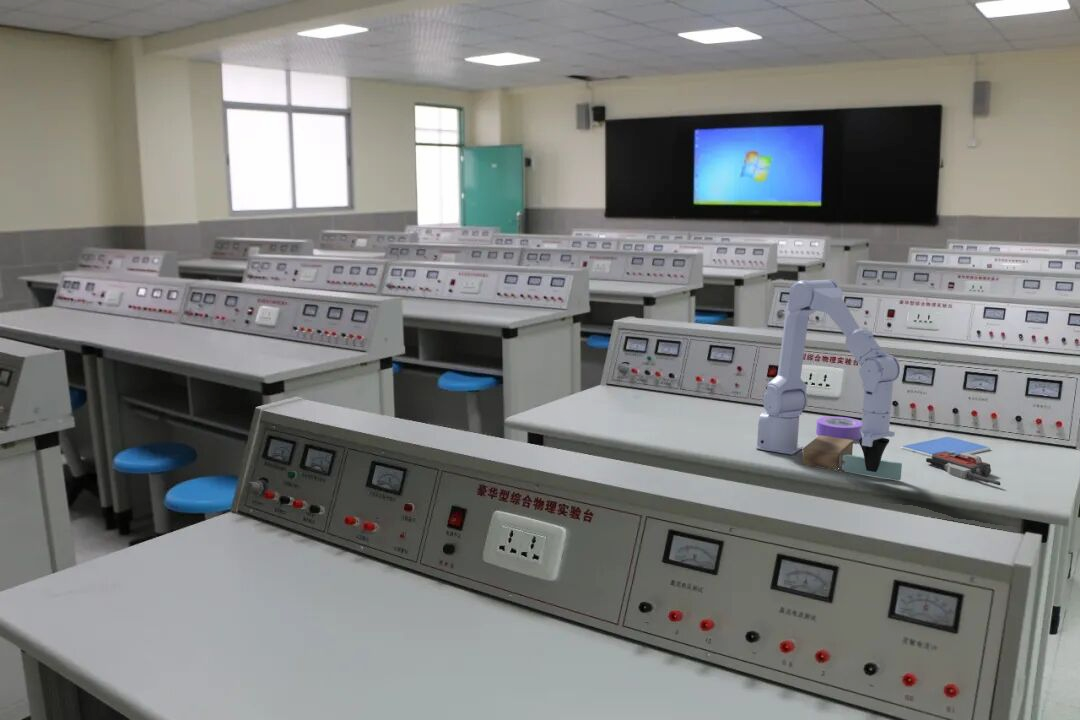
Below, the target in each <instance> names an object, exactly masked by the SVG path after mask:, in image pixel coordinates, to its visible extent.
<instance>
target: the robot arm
mask: <svg viewBox="0 0 1080 720" xmlns="http://www.w3.org/2000/svg"><path fill="white" fill-rule="evenodd" d="M815 312H824V313H826V314H827V315H828V316H829V318H830V319H831V320H832V321H833V322H834V324H835V325H836V326H837V327H838V328H839V330H840V331H841V332H842V333H843V334H844V336H845V342H844V344H845V346H846V347H847V349H848V351H849V352H850V353H851V355H852V357H853V358H854V359H855V360H856V362H857V364H858V365H859V366H860V368H859V369H858V371H859V377H860V379H861V381H862V388H863V400H862V401H863V402H862V413H861V414H862V416H861V422H862V425H861V429H860V433H861V435H862V438H860V439H858V444H859V446H860V448H861V450H862V454H863V457H864V459H865V466H866V470H867V471H872V472H876V471H877V470H878V468H879V465H880V461H881V460H882V457H883V454H884V451H885V450H886V448H887V446H888V445H889V443H890V439H889V438H890V437H891V438H892V437H894V436H895V431H890V422H891V410H892V400H893V398H892V397H893V386H894V382H895V381H896V380H897V379H898V378H899V376H900V373H901V367H900V363H899V361H898V359H897V357H895V356H893V355H892V354H888V353H887V352H885V351H884V349H882V348H881V346H880V345H879V343H878V342H877V341H876V340H875V338H874V334H873V333H872V331H869V330H868V329H865V328H861V327H860V325H859V324H858V322H857V321H856V320H855V318H854V316H853V315H852V313H851V311H850V310H849V308H848V306H847V305H846V302H845V301H844V299H843V290H842V289H841V288H840V287H839V285H838V283H837V282H836V281H835V280H833V279H831V278H827V279H826V278H825V279H818V280H817V279H816V280H815V279H814V280H813V279H812V280H805V279H804V280H798V281H796V282H795V283H793V284H792V285H791V286H790V287H789V295H788V301H787V303H786V307H785V313H784V314H785V315H784V321H783V329H782V338H781V347H780V354H779V362H778V367H777V368H778V370H777V375H776V376H775V377H773V379H771V380H770V381H769V382H767V387H766V391H765V392H764V394H763V396H762V397H763V398H762V405H763V409H764V410H765V411H763V412H761V414H760V416H759V418H758V425H757V442H756V443H757V445H756V447H755V449H756V450H762V451H767V452H772V453H773V452H775V453H779V454H784V455H785V454H786V455H791V456H792V455H795V454H796V453H797V452H799V451H800V450H801V449H803V448H804V447H803V445H799V444H798V441H799V428H800V427H799V425H800V416H802V415H803V414H802V413H803V411H805V409H806V408H807V406H808V395H807V383H806V382H804V380H803V379H802V378H801V376H802V371H803V370H802V369H803V362H804V355H805V346H806V341H807V340H806V338H807V331H808V326H809V325H808V323H809V317H810V316H811V315H813V314H814V313H815ZM888 437H889V438H888Z"/></svg>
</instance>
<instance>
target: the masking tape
mask: <svg viewBox="0 0 1080 720" xmlns="http://www.w3.org/2000/svg"><path fill="white" fill-rule="evenodd" d="M861 425H862V420H859V419H855V418H851V417H844V416H822V417H819V418H817V419H816V427H815V431H816V432H815V433H816V435H817V436H820V435H822V436H829V437H836V438H842V439H849V440H853V441H857V439H858V440H859V439H860V438H862V435H861V433H860V429H861Z"/></svg>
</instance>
